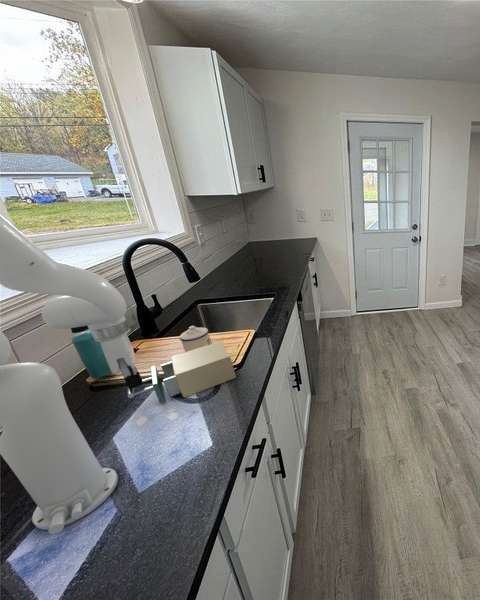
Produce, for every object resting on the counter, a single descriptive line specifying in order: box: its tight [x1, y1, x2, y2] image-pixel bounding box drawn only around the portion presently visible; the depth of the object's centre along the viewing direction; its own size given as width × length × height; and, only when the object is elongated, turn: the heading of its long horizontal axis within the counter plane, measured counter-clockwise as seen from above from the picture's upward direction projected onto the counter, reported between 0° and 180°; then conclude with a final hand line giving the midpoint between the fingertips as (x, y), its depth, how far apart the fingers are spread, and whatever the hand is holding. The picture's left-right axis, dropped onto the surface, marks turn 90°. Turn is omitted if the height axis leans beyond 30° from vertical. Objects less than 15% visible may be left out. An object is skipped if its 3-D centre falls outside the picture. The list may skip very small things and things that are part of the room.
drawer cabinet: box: [170, 340, 237, 399], centre depth 101 cm, size 15×14×8 cm
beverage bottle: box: [70, 326, 112, 379], centre depth 102 cm, size 6×7×20 cm
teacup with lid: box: [179, 325, 213, 352], centre depth 115 cm, size 12×9×12 cm
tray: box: [127, 361, 182, 404], centre depth 96 cm, size 20×12×6 cm, turn 129°
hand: (136, 385), depth 91 cm, fingers closed
